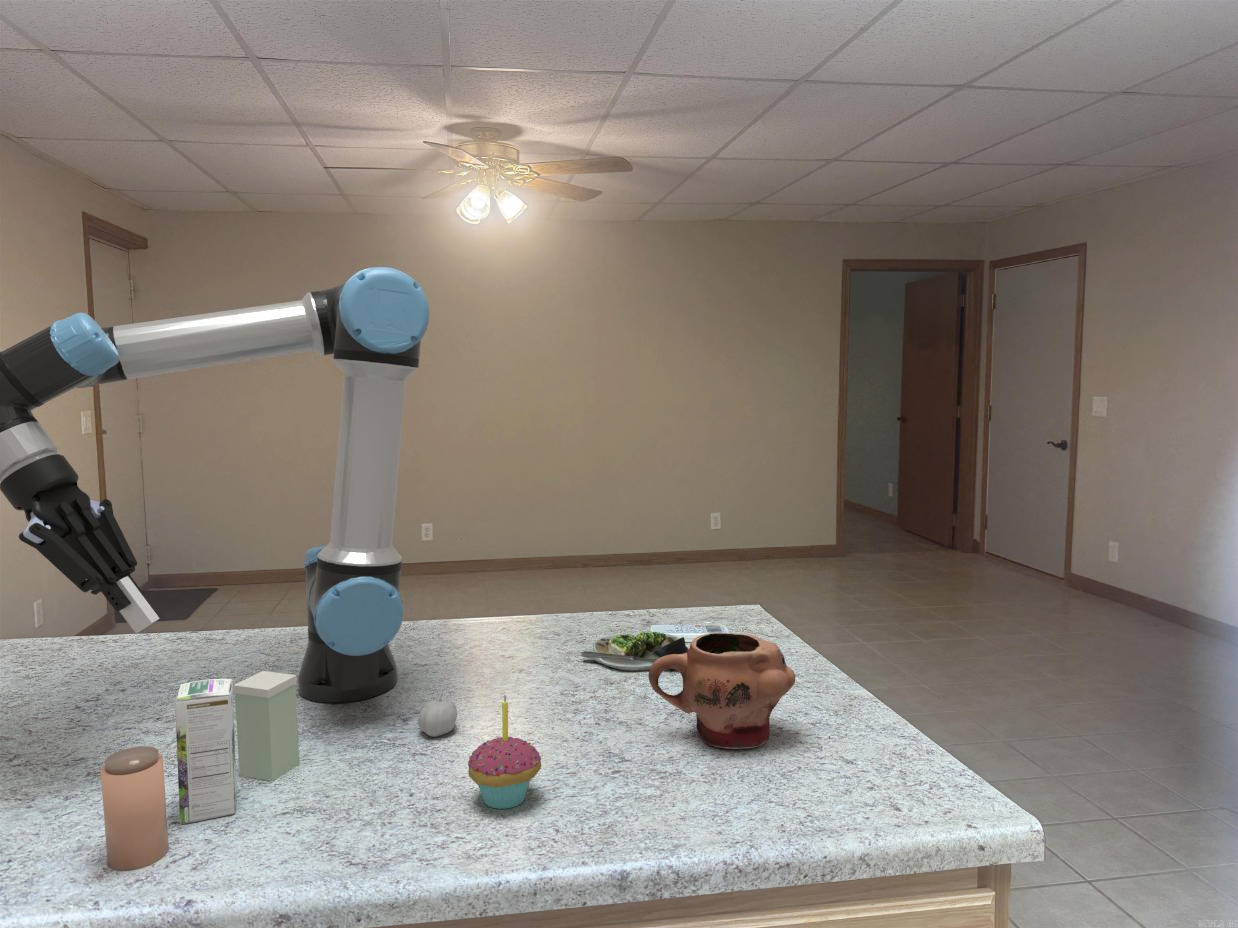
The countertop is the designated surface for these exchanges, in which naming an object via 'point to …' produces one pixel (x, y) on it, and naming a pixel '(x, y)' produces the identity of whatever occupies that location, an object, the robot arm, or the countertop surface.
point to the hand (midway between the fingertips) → (147, 625)
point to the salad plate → (635, 650)
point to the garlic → (437, 717)
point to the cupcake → (504, 767)
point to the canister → (134, 808)
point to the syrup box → (206, 750)
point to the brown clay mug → (728, 686)
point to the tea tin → (267, 725)
